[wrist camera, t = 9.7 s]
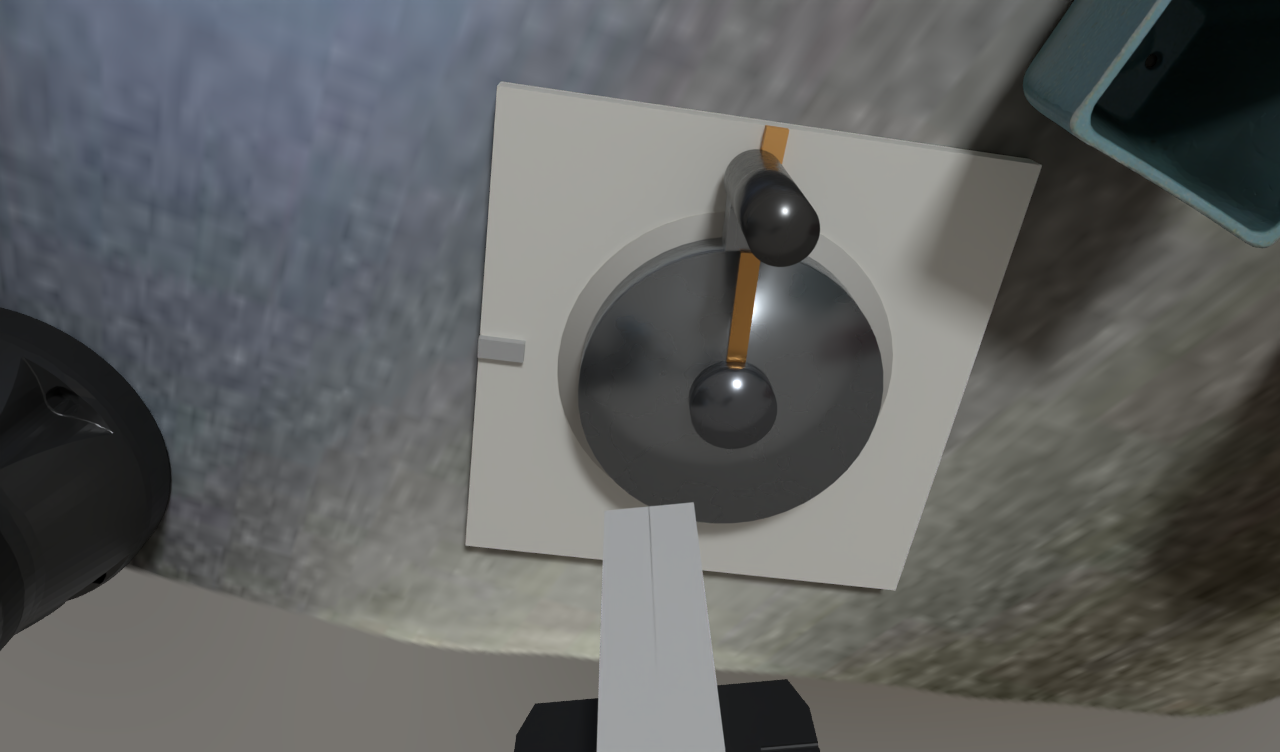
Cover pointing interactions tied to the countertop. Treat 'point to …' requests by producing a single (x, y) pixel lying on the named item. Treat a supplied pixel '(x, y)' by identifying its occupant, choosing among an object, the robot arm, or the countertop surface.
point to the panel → (694, 210)
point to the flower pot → (1175, 99)
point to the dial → (733, 363)
